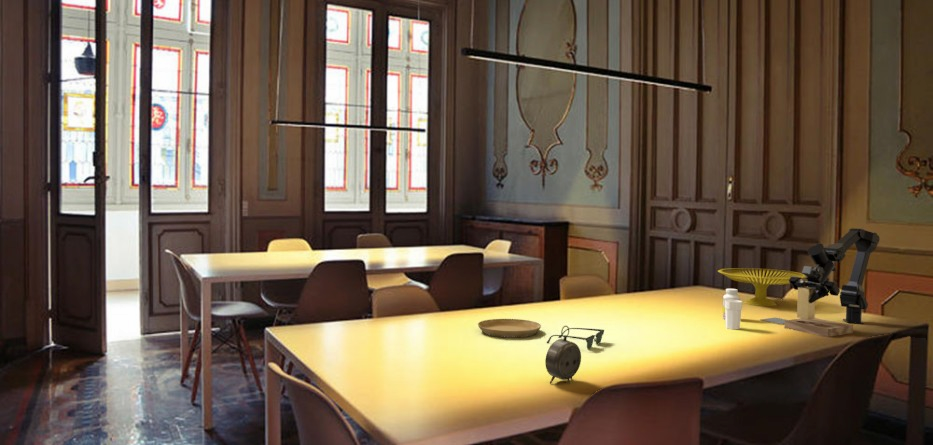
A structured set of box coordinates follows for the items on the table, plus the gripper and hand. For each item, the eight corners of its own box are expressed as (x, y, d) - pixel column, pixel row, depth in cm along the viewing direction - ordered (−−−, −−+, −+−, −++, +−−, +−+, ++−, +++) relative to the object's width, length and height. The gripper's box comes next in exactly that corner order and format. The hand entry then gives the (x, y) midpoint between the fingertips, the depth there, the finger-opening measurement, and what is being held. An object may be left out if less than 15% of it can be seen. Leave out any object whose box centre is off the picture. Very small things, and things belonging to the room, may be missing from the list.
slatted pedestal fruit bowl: (726, 309, 310) (727, 276, 310) (709, 295, 350) (710, 266, 349) (819, 312, 304) (820, 279, 303) (791, 298, 343) (792, 269, 343)
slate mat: (775, 318, 289) (775, 317, 289) (796, 322, 280) (796, 321, 280) (760, 320, 284) (760, 319, 284) (781, 324, 275) (781, 323, 275)
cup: (741, 327, 269) (742, 300, 268) (741, 330, 263) (742, 302, 262) (724, 325, 271) (725, 299, 271) (723, 328, 266) (724, 301, 265)
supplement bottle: (738, 318, 288) (739, 288, 287) (739, 321, 282) (740, 290, 281) (722, 317, 290) (723, 287, 290) (722, 319, 284) (723, 289, 283)
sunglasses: (561, 336, 250) (561, 323, 249) (605, 343, 241) (605, 329, 240) (542, 345, 236) (542, 331, 235) (587, 352, 227) (588, 337, 226)
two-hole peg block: (809, 324, 277) (809, 317, 277) (852, 332, 261) (853, 325, 261) (784, 328, 268) (784, 320, 268) (827, 336, 253) (828, 329, 253)
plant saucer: (507, 323, 272) (507, 315, 272) (553, 333, 255) (554, 324, 255) (464, 332, 256) (464, 323, 255) (511, 343, 238) (511, 333, 238)
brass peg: (803, 316, 268) (804, 286, 268) (814, 318, 265) (815, 288, 264) (796, 317, 266) (798, 287, 266) (807, 319, 262) (808, 289, 262)
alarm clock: (570, 376, 196) (571, 321, 195) (584, 381, 191) (585, 324, 191) (543, 383, 189) (544, 326, 188) (557, 388, 185) (558, 329, 184)
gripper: (792, 256, 274) (774, 285, 269) (836, 261, 258) (818, 291, 253) (803, 274, 278) (785, 303, 274) (847, 280, 262) (830, 310, 257)
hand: (804, 301), depth 264 cm, fingers closed on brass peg, 4 cm apart
